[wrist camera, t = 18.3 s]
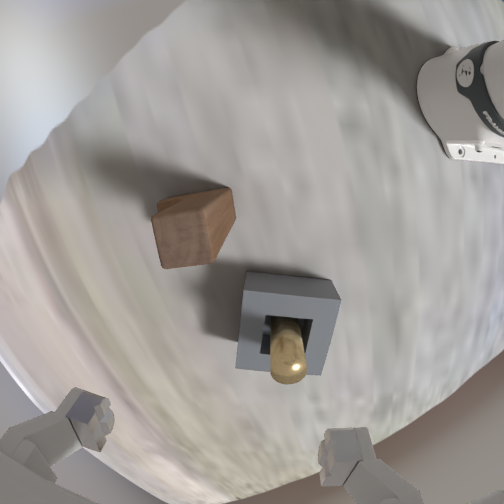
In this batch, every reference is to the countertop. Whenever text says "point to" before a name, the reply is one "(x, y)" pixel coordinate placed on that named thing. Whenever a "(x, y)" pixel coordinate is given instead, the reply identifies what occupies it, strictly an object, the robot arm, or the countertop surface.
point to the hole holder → (286, 305)
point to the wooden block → (193, 227)
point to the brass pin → (286, 350)
